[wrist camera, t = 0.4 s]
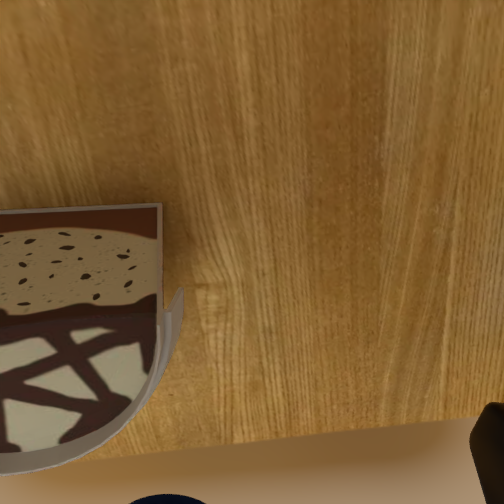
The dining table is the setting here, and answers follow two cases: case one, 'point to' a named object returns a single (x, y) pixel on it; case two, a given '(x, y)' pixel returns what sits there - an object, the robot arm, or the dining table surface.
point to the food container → (79, 328)
